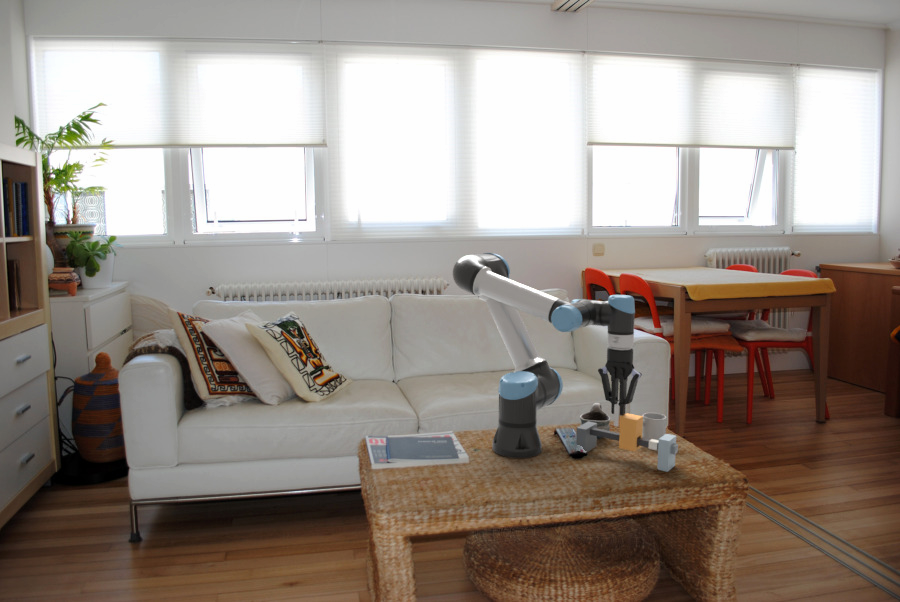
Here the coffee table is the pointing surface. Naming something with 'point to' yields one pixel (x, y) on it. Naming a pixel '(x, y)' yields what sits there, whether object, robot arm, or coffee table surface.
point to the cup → (653, 426)
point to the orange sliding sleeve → (630, 431)
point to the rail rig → (664, 445)
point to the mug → (596, 417)
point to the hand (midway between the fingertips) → (617, 425)
